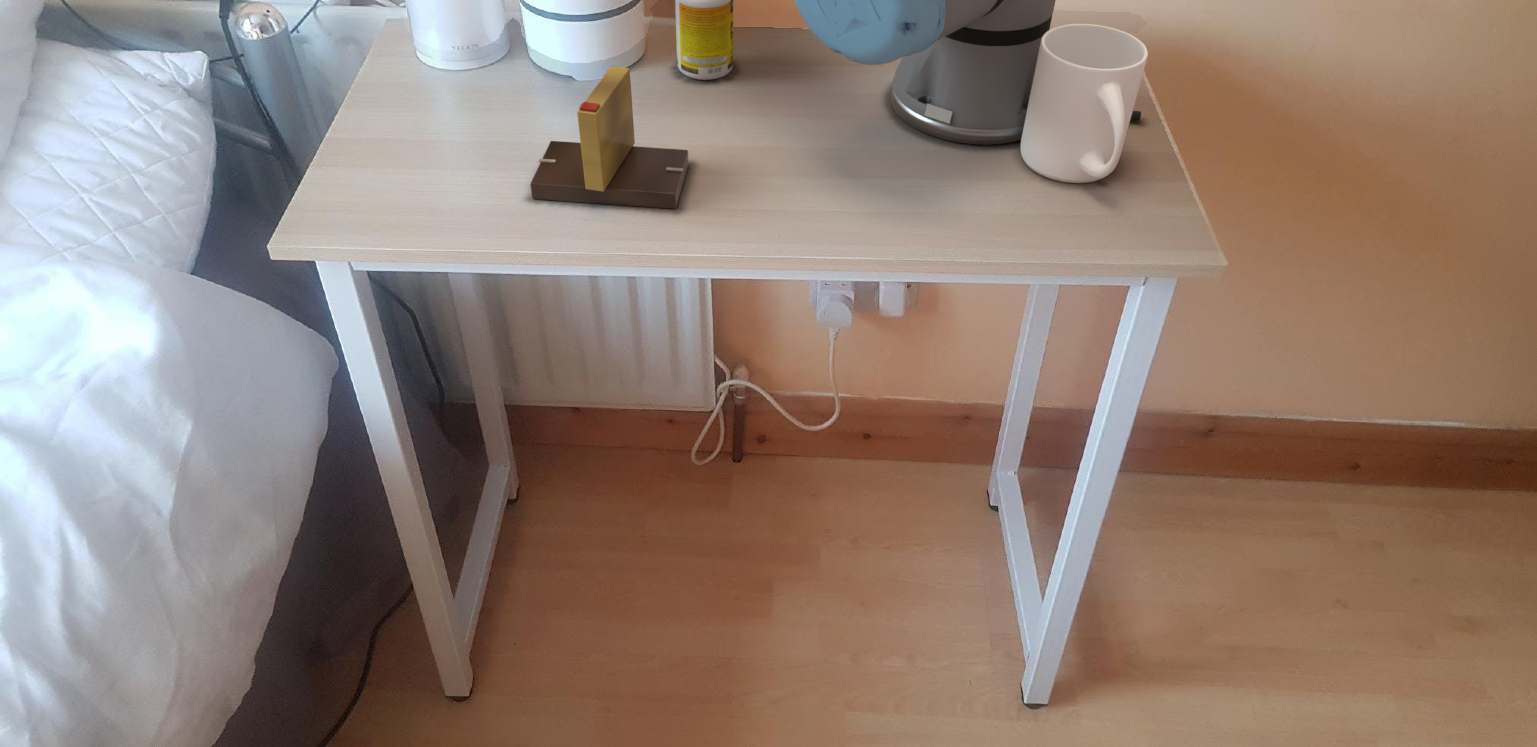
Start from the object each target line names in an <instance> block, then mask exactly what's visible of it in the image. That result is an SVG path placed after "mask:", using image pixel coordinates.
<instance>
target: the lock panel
mask: <svg viewBox="0 0 1537 747" xmlns="http://www.w3.org/2000/svg"><path fill="white" fill-rule="evenodd" d="M538 163H539V165H538V167H537V169H536V171H535V173H534V175H533V177H532V179H531V182H530V191H531V192H530V193H531V198H532V200H541V201H542V200H544V201H545V200H546V201H557V202H558V201H559V202H560V201H561V202H573V203H589V204H600V205H616V206H631V207H641V208H643V207H644V208H657V209H673V210H676V209H677V207H678V203H679V199H680V196H681V191H682V189H683V186H684V182H685V178H686V174H687V171H688V169H689V168H688V167H689V150H688V149H680V148H665V147H663V148H662V147H650V146H636V145H635V146H634V145H633V147H632V148H631V150H630V151H629V153H628V155H627V156H626V158H625V159H624V161H623V162H622V164H621V165H620V167H619V169H618V170H617V172H616V173H615V175H614V176H613V178H612V179H611V181H610V183H609V184H608V186H607V187H606V189H605V190H604V191H596V190H589V189H586V188H585V179H584V170H583V160H582V151H581V142H576V141H562V140H561V141H559V140H550V142H549V144H548V146H547V147H546V150H545V152H544V154H543V156H542V158H539V160H538Z"/></svg>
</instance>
